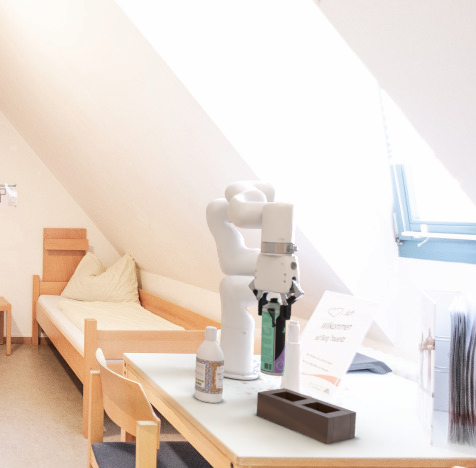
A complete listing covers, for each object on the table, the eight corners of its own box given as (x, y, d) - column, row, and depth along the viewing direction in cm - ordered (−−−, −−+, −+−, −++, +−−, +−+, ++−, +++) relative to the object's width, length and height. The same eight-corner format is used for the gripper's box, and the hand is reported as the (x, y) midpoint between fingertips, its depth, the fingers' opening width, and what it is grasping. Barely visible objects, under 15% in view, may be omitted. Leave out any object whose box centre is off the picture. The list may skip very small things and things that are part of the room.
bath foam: (212, 405, 142) (216, 331, 141) (189, 397, 148) (192, 326, 147) (227, 400, 146) (230, 328, 145) (203, 392, 151) (206, 323, 150)
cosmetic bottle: (287, 403, 144) (291, 323, 143) (273, 395, 151) (276, 318, 149) (308, 403, 145) (312, 323, 144) (293, 395, 151) (297, 318, 150)
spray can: (286, 377, 137) (288, 299, 137) (262, 374, 139) (264, 298, 139) (281, 371, 142) (283, 297, 142) (258, 369, 144) (260, 295, 144)
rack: (283, 410, 139) (284, 387, 139) (354, 437, 123) (356, 412, 122) (256, 415, 135) (257, 392, 135) (326, 444, 119) (328, 417, 119)
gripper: (319, 251, 133) (315, 323, 134) (257, 246, 149) (254, 310, 150) (299, 252, 130) (295, 325, 131) (238, 247, 146) (235, 312, 147)
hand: (273, 316), depth 140 cm, fingers closed on spray can, 5 cm apart
